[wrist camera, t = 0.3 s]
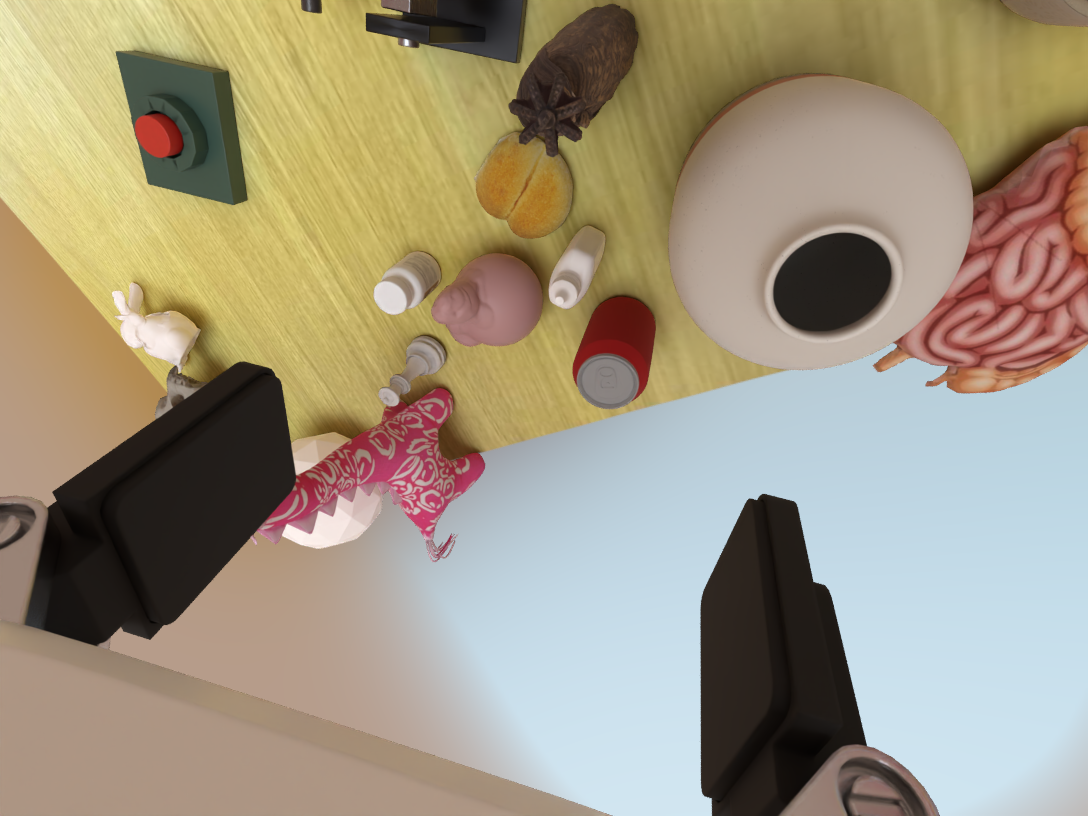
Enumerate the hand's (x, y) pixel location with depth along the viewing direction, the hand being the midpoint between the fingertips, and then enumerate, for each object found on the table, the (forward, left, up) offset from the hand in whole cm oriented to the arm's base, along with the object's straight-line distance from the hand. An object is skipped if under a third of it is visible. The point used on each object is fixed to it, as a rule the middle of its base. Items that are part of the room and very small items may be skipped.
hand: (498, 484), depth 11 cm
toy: (+37, -18, -45) cm, 61 cm away
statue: (-4, -6, -45) cm, 46 cm away
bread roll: (+6, -10, -45) cm, 47 cm away
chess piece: (+27, -19, -45) cm, 56 cm away
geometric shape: (+42, -24, -41) cm, 63 cm away
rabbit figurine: (+34, -50, -44) cm, 74 cm away
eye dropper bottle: (+11, -4, -45) cm, 47 cm away
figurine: (+17, -12, -45) cm, 50 cm away
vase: (+1, +11, -45) cm, 47 cm away
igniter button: (+8, -45, -42) cm, 62 cm away
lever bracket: (-7, -17, -45) cm, 49 cm away
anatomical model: (+14, +24, -41) cm, 50 cm away
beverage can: (+17, +2, -45) cm, 49 cm away
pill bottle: (+17, -20, -45) cm, 53 cm away
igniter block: (+8, -45, -45) cm, 65 cm away
